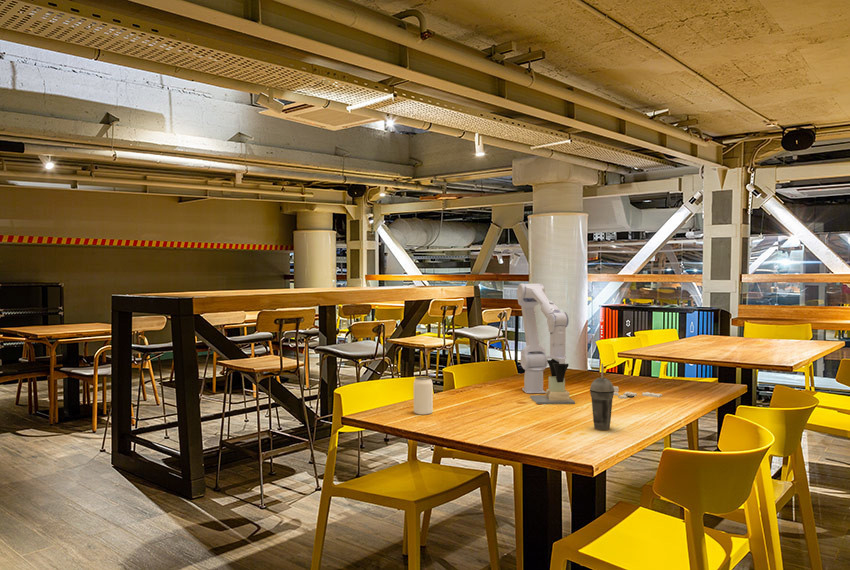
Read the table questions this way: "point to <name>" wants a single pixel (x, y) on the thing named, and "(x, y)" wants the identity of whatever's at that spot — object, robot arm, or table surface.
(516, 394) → the table surface
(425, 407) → the can
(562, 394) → the birch plinth
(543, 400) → the gray board
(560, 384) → the sage block
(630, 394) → the architectural model
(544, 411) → the table surface
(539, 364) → the robot arm
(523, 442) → the table surface
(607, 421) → the beverage cup
